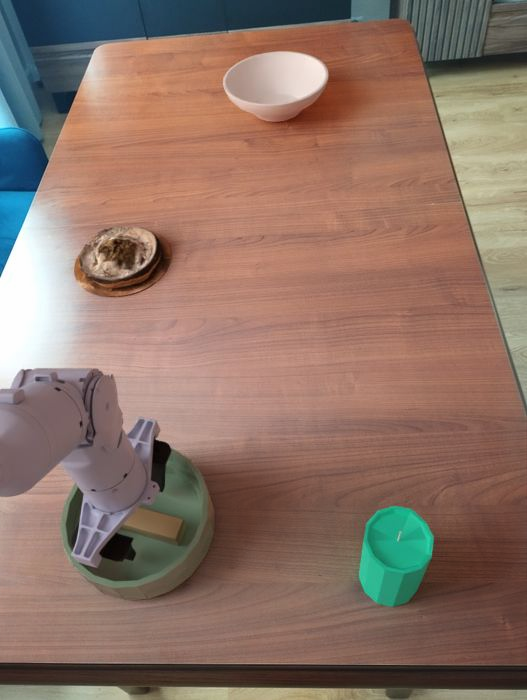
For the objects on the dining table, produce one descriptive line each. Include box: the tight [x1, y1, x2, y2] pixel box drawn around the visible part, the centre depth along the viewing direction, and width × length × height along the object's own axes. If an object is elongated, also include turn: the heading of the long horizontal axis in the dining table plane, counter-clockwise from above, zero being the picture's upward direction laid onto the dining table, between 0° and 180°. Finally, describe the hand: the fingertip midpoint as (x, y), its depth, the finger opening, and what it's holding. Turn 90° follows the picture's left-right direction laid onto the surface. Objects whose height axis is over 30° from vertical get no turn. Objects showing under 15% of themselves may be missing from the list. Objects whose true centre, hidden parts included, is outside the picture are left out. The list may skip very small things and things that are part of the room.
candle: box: [358, 505, 435, 608], centre depth 54 cm, size 6×6×12 cm
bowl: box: [222, 50, 330, 123], centre depth 110 cm, size 20×20×7 cm
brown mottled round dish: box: [73, 226, 172, 298], centre depth 89 cm, size 15×15×4 cm
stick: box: [119, 507, 187, 546], centre depth 62 cm, size 2×9×2 cm, turn 73°
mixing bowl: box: [59, 447, 216, 601], centre depth 62 cm, size 15×15×5 cm
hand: (141, 520), depth 62 cm, fingers open, 7 cm apart
